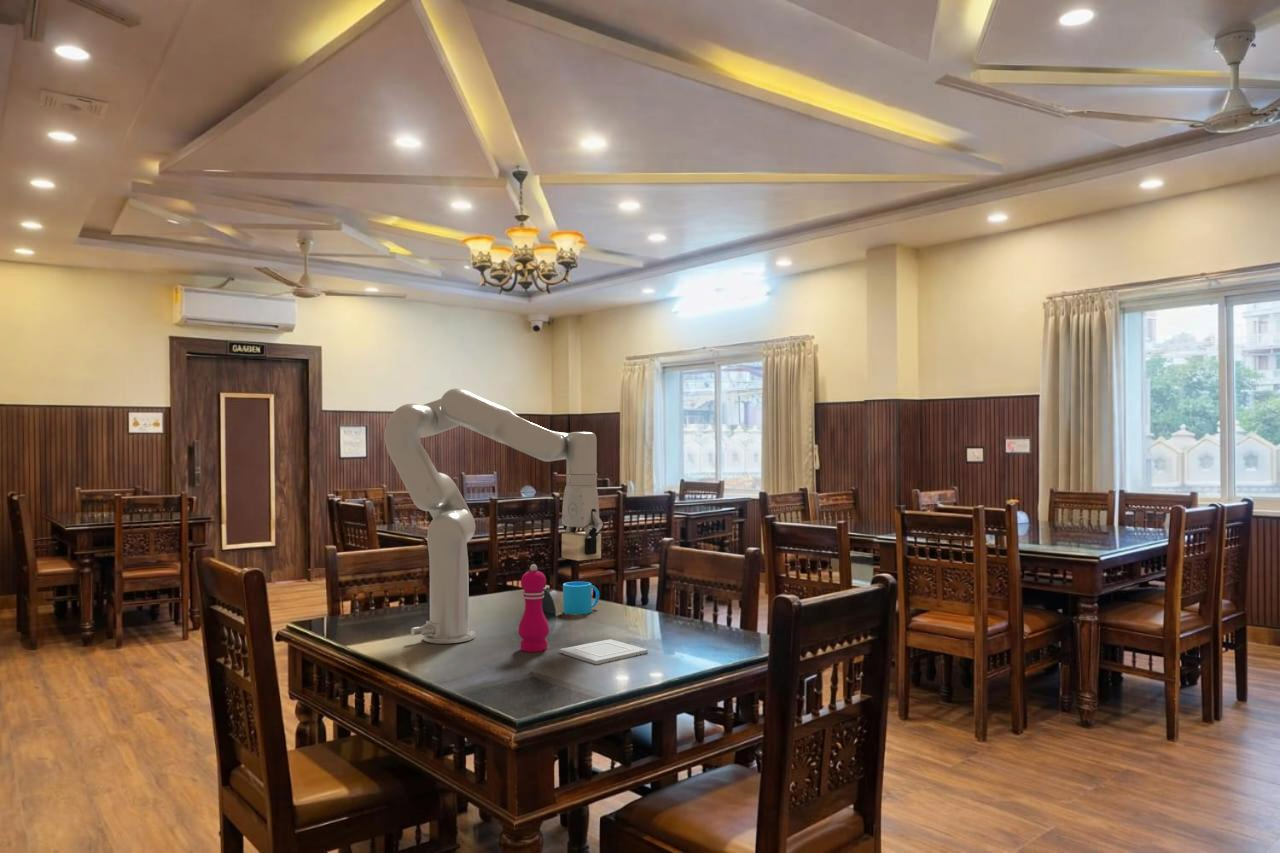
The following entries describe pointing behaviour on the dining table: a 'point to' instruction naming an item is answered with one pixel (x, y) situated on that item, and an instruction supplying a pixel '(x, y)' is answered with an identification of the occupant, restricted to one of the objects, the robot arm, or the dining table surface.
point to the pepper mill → (533, 612)
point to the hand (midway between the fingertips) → (581, 552)
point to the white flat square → (603, 651)
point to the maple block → (578, 546)
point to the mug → (578, 597)
